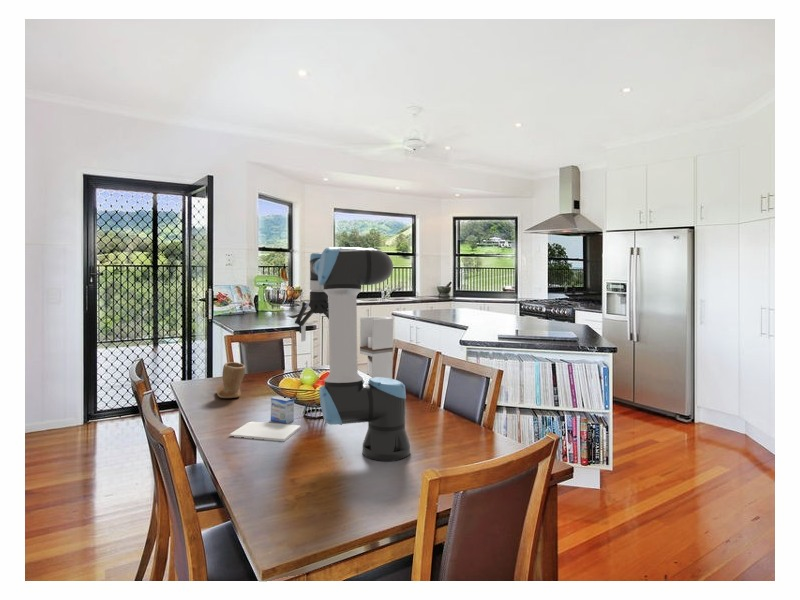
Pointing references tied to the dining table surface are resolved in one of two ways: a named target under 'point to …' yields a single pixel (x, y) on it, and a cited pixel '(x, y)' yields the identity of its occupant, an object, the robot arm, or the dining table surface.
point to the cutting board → (266, 431)
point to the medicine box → (282, 409)
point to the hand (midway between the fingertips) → (318, 342)
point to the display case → (377, 345)
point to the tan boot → (231, 380)
